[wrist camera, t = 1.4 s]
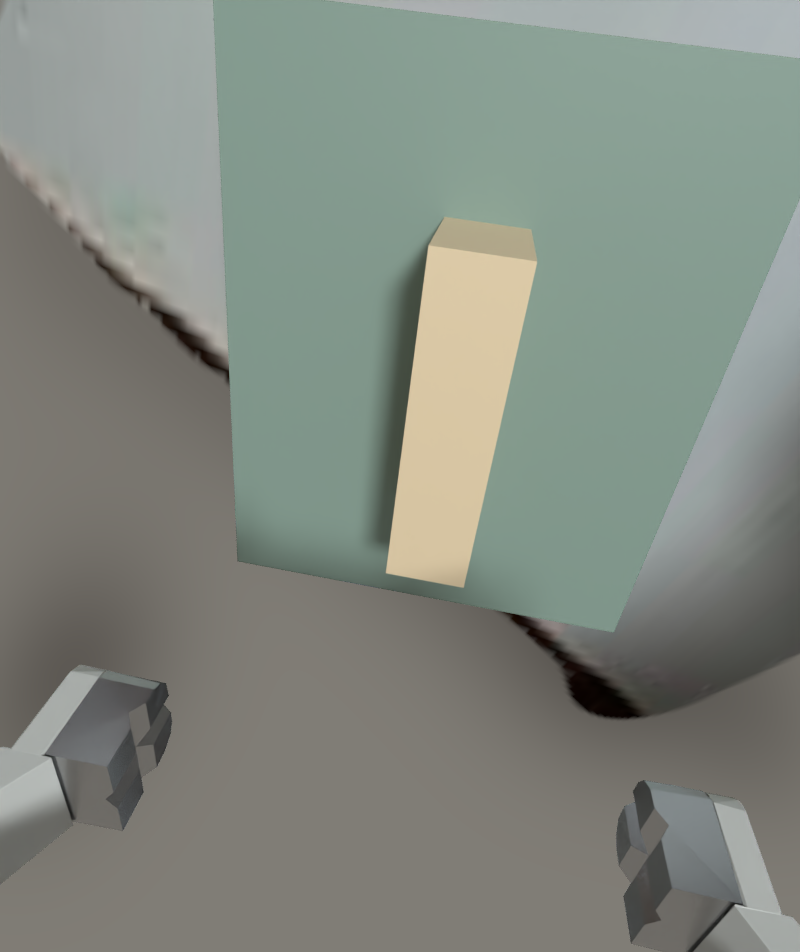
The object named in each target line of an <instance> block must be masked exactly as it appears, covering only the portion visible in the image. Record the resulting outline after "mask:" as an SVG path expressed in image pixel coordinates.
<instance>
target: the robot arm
mask: <svg viewBox="0 0 800 952" xmlns="http://www.w3.org/2000/svg"><path fill="white" fill-rule="evenodd" d="M168 696H169V695H168V690H167V685H166V683H162V682H158V681H153V680H148V679H144V678H139V677H134V676H130V675H125V674H120V673H116V672H111V671H109V670H103V669H99V668H94V667H89V666H84V665H79V666H78V667H76V668H75V669H74V670H72V671H71V672H70V673H69V674H68V675H67V676H66V678H65V679H64V681H63V682H62V683H61V684H60V686H59V687H58V688H57V689H56V691H55V692H54V693H53V695H52V696H51V698H50V699H49V700H48V701H47V703H46V704H45V705H44V706H43V708H42V709H41V710H40V711H39V713H38V714H37V715H36V717H35V718H34V719H33V720H32V722H31V723H30V724H29V726H28V727H27V728H26V729H25V731H24V732H23V733H22V735H21V736H20V737H19V739H18V740H17V741H16V743H15V744H14V745H13V746H12V748H7V747H1V748H0V884H1V883H3V882H4V881H5V880H6V879H8V878H9V877H10V876H11V875H12V874H14V873H15V872H16V871H17V870H19V869H20V868H21V867H22V866H23V865H25V864H26V863H27V862H28V861H30V860H31V859H32V858H33V857H35V856H36V855H37V854H38V853H39V852H41V851H42V850H43V849H44V848H46V847H47V846H48V845H49V844H50V843H52V842H53V841H54V840H55V839H57V838H58V837H59V836H60V835H61V834H63V833H64V832H65V831H67V830H68V829H69V828H70V827H71V826H73V822H78V823H83V824H88V825H94V826H99V827H104V828H109V829H115V830H120V831H123V830H124V828H125V826H126V824H127V823H128V821H129V819H130V817H131V815H132V813H133V811H134V809H135V807H136V806H137V804H138V802H139V800H140V798H141V796H142V794H143V792H144V791H143V784H142V777H143V776H144V775H146V774H148V773H149V772H150V771H152V770H153V769H155V768H156V767H157V766H158V764H159V762H160V760H161V758H162V756H163V754H164V752H165V749H166V746H167V743H168V740H169V737H170V734H171V726H172V717H171V712H170V711H169V710H168V709H167V708H166V706H164V703H165V701H166V699H167V698H168ZM633 794H634V798H635V802H633V803H631V804H629V805H626V806H624V808H623V810H622V812H621V814H620V816H619V819H618V826H617V832H616V847H617V856H618V863H619V867H620V868H621V870H622V871H623V872H624V874H625V875H626V877H627V878H628V880H629V881H630V882H631V884H630V885H629V887H628V889H627V891H626V892H625V894H624V896H623V897H624V903H625V909H626V916H627V922H628V929H629V934H630V941H631V944H634V945H638V946H643V947H646V948H650V949H654V950H658V951H662V952H800V926H799V924H798V923H797V922H796V921H795V919H794V918H793V917H791V916H788V915H784V914H782V912H781V910H780V907H779V904H778V901H777V898H776V896H775V893H774V890H773V887H772V884H771V881H770V878H769V875H768V873H767V870H766V867H765V864H764V861H763V859H762V855H761V853H760V850H759V847H758V844H757V841H756V838H755V835H754V833H753V830H752V827H751V824H750V821H749V818H748V816H747V813H746V810H745V807H744V806H743V805H742V804H741V802H740V801H739V800H737V799H735V798H732V797H726V796H721V795H715V794H710V793H705V792H703V791H699V790H694V789H689V788H684V787H678V786H673V785H667V784H662V783H657V782H651V781H646V780H643V781H641V782H638V784H637V785H636V787H635V789H634V790H633Z"/></svg>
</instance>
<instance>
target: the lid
mask: <svg viewBox="0 0 800 952" xmlns="http://www.w3.org/2000/svg"><path fill="white" fill-rule="evenodd" d="M213 9H214V32H215V55H216V78H217V101H218V124H219V146H220V169H221V192H222V215H223V238H224V260H225V283H226V306H227V329H228V352H229V375H230V397H231V418H232V419H231V420H232V443H233V466H234V488H235V511H236V534H237V556H238V561H239V562H245V563H250V564H255V565H260V566H266V567H271V568H277V569H281V570H287V571H292V572H298V573H303V574H308V575H313V576H318V577H324V578H329V579H334V580H339V581H345V582H350V583H356V584H361V585H366V586H371V587H376V588H382V589H387V590H392V591H397V592H403V593H408V594H413V595H418V596H424V597H429V598H434V599H439V600H445V601H450V602H455V603H461V604H466V605H471V606H476V607H482V608H488V609H492V610H497V611H503V612H508V613H513V614H518V615H524V616H529V617H534V618H540V619H545V620H550V621H555V622H561V623H566V624H571V625H576V626H582V627H587V628H592V629H597V630H603V631H608V632H613V633H614V631H615V628H616V626H617V624H618V621H619V619H620V617H621V614H622V612H623V610H624V607H625V605H626V603H627V600H628V598H629V596H630V593H631V591H632V589H633V586H634V584H635V582H636V579H637V577H638V575H639V572H640V570H641V568H642V565H643V563H644V561H645V558H646V556H647V554H648V551H649V549H650V547H651V544H652V542H653V540H654V537H655V535H656V533H657V530H658V528H659V526H660V523H661V521H662V519H663V516H664V514H665V512H666V509H667V507H668V505H669V502H670V500H671V498H672V495H673V493H674V491H675V488H676V486H677V484H678V481H679V479H680V477H681V474H682V472H683V470H684V467H685V465H686V463H687V460H688V458H689V456H690V453H691V451H692V449H693V446H694V444H695V442H696V439H697V437H698V435H699V432H700V430H701V428H702V425H703V423H704V421H705V418H706V416H707V414H708V411H709V409H710V407H711V404H712V402H713V400H714V397H715V395H716V393H717V391H718V388H719V386H720V384H721V381H722V379H723V377H724V374H725V372H726V370H727V367H728V365H729V363H730V360H731V358H732V356H733V353H734V351H735V349H736V346H737V344H738V342H739V339H740V337H741V335H742V332H743V330H744V328H745V325H746V323H747V321H748V318H749V316H750V314H751V311H752V309H753V307H754V304H755V302H756V300H757V297H758V295H759V293H760V290H761V288H762V286H763V283H764V281H765V279H766V276H767V274H768V272H769V269H770V267H771V265H772V262H773V260H774V258H775V255H776V253H777V251H778V248H779V246H780V244H781V241H782V239H783V237H784V234H785V232H786V230H787V227H788V225H789V223H790V220H791V218H792V216H793V213H794V211H795V209H796V206H797V204H798V202H799V199H800V58H791V57H783V56H775V55H767V54H759V53H751V52H743V51H734V50H726V49H718V48H710V47H702V46H694V45H685V44H677V43H669V42H661V41H653V40H645V39H636V38H628V37H620V36H612V35H604V34H596V33H587V32H579V31H571V30H563V29H555V28H547V27H538V26H530V25H522V24H514V23H506V22H498V21H490V20H481V19H473V18H465V17H457V16H449V15H441V14H432V13H424V12H416V11H408V10H400V9H392V8H383V7H375V6H367V5H359V4H351V3H343V2H334V1H326V0H213Z"/></svg>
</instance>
